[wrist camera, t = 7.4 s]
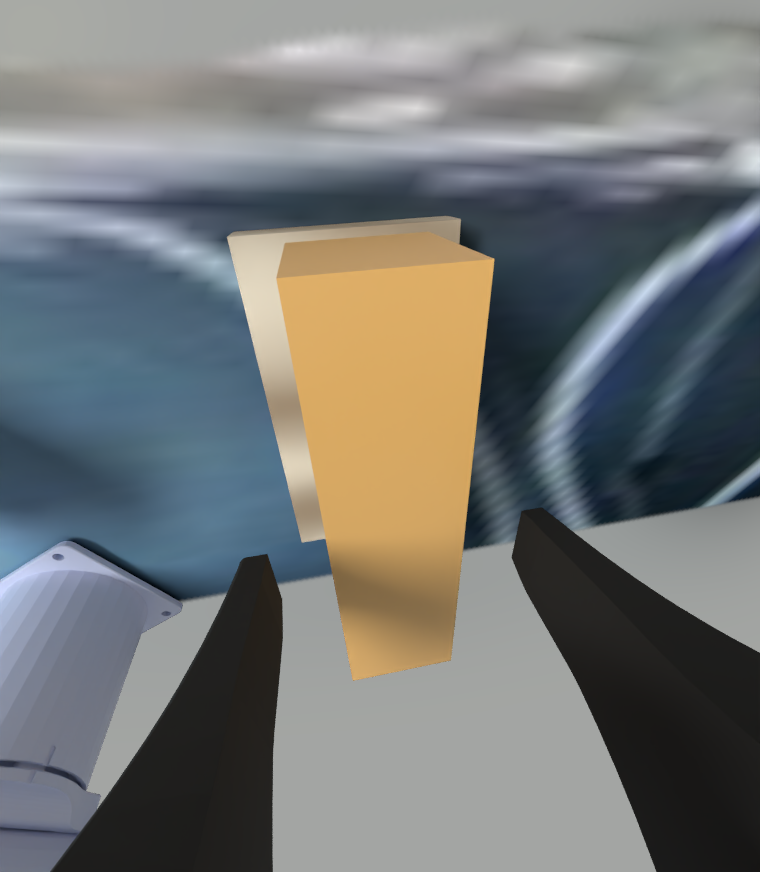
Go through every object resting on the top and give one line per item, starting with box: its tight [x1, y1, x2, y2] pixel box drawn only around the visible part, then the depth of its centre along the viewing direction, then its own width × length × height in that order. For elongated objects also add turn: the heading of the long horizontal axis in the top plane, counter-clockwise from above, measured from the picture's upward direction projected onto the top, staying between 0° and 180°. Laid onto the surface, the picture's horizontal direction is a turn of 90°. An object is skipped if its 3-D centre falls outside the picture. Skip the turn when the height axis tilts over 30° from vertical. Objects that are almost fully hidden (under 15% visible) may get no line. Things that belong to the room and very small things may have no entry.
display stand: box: [227, 216, 461, 542], centre depth 17 cm, size 15×8×4 cm, turn 3°
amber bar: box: [276, 232, 494, 681], centre depth 13 cm, size 15×4×4 cm, turn 3°
